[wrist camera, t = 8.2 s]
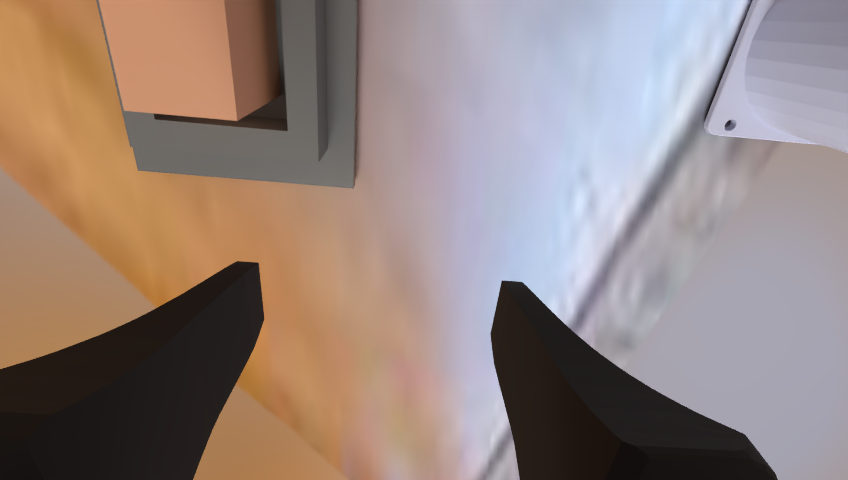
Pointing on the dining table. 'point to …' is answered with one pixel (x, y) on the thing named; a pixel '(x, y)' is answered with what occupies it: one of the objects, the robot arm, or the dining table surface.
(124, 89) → the terracotta bar
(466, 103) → the dining table surface
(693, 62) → the dining table surface
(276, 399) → the dining table surface
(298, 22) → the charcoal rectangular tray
